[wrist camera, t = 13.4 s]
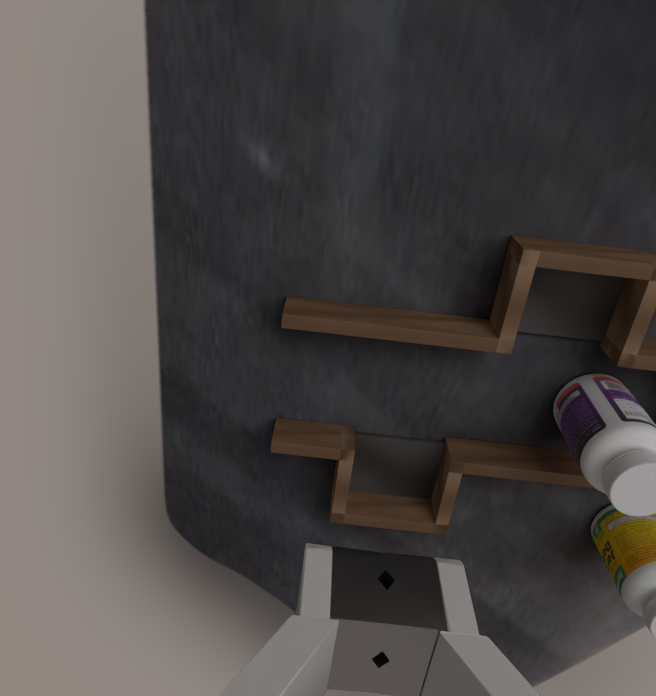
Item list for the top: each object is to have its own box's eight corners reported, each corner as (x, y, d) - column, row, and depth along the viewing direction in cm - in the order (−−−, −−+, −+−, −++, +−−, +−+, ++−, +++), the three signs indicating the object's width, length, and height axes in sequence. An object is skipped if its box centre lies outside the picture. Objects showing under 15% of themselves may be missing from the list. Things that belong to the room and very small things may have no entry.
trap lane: (294, 208, 37) (290, 221, 35) (755, 264, 38) (786, 280, 35) (270, 489, 48) (265, 515, 45) (632, 529, 48) (648, 557, 46)
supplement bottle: (662, 535, 49) (729, 639, 40) (598, 554, 50) (649, 659, 41) (648, 489, 47) (715, 588, 38) (580, 510, 48) (631, 610, 39)
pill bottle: (563, 443, 45) (609, 536, 36) (542, 387, 43) (585, 471, 34) (636, 419, 43) (702, 510, 35) (618, 360, 41) (683, 441, 33)
